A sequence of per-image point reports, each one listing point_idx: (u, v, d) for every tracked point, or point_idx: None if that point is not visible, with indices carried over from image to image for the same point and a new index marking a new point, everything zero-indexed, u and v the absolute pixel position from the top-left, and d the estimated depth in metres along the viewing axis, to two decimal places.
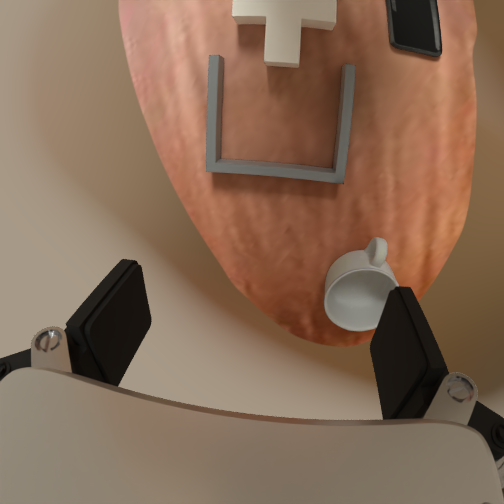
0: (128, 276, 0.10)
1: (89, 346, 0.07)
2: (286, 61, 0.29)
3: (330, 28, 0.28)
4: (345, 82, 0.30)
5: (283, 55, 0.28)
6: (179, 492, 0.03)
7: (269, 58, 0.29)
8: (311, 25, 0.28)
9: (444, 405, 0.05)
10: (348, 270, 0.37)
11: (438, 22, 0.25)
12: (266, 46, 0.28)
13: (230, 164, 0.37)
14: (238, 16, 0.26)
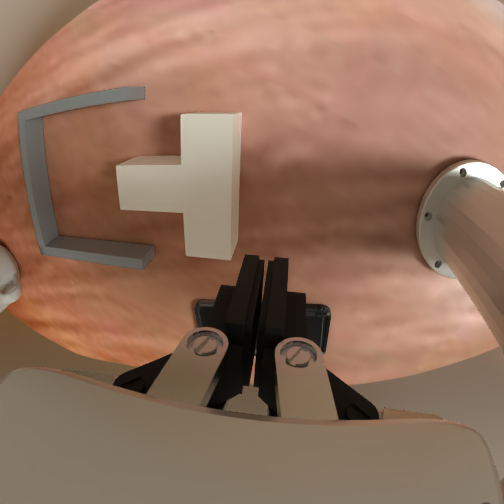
0: (261, 271, 0.10)
1: (244, 344, 0.08)
2: (119, 194, 0.24)
3: None
4: (121, 257, 0.28)
5: (126, 190, 0.24)
6: (179, 492, 0.03)
7: (119, 172, 0.23)
8: None
9: (292, 378, 0.06)
10: None
11: None
12: (135, 167, 0.23)
13: (25, 137, 0.23)
14: None
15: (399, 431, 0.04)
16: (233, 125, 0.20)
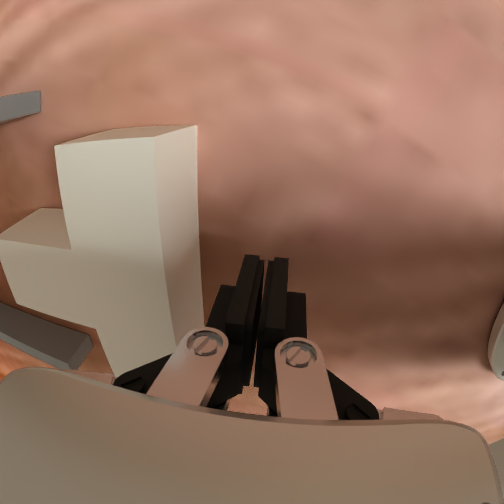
0: (261, 271, 0.10)
1: (244, 344, 0.08)
2: (8, 282, 0.12)
3: None
4: (44, 353, 0.16)
5: (14, 279, 0.12)
6: (179, 492, 0.03)
7: None
8: None
9: (292, 378, 0.06)
10: None
11: None
12: (13, 245, 0.10)
13: None
14: None
15: (399, 431, 0.04)
16: (157, 165, 0.08)
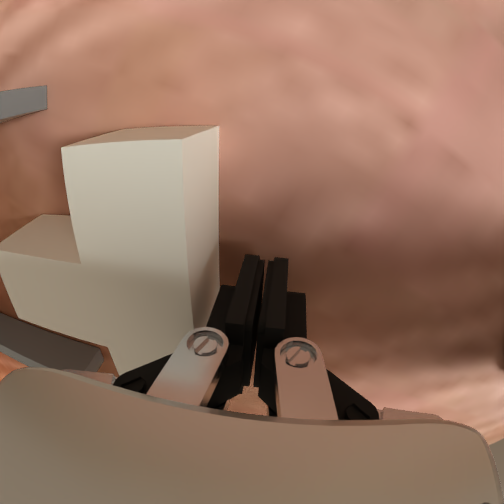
0: (261, 271, 0.10)
1: (244, 344, 0.08)
2: (9, 295, 0.11)
3: None
4: None
5: (16, 292, 0.11)
6: (179, 492, 0.03)
7: None
8: None
9: (292, 378, 0.06)
10: None
11: None
12: (14, 257, 0.10)
13: None
14: None
15: (399, 431, 0.04)
16: (184, 171, 0.07)
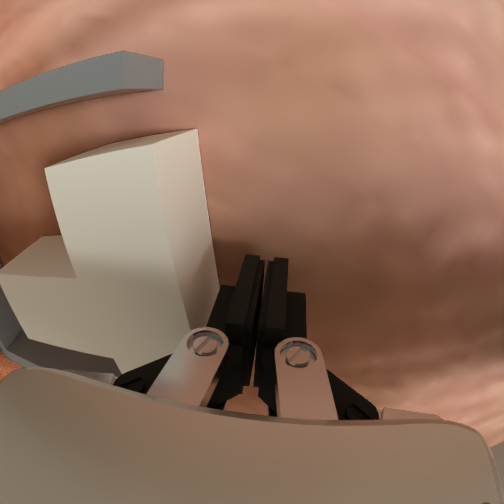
0: (261, 271, 0.10)
1: (244, 344, 0.08)
2: (17, 317, 0.11)
3: None
4: None
5: (22, 313, 0.11)
6: (179, 492, 0.03)
7: (3, 284, 0.10)
8: None
9: (292, 378, 0.06)
10: None
11: None
12: (16, 279, 0.10)
13: None
14: (49, 190, 0.08)
15: (399, 431, 0.04)
16: (159, 175, 0.07)
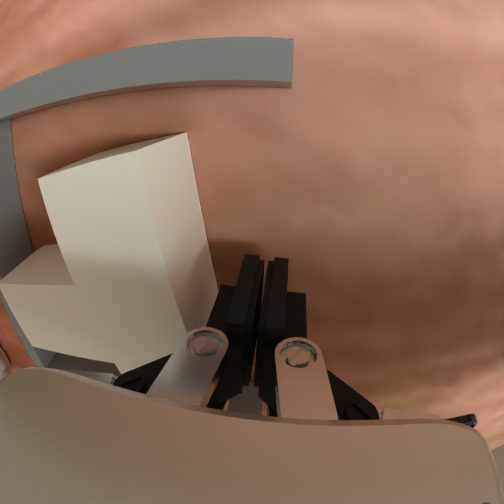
0: (261, 271, 0.10)
1: (244, 344, 0.08)
2: (20, 325, 0.11)
3: None
4: None
5: (25, 321, 0.11)
6: (179, 492, 0.03)
7: (5, 293, 0.11)
8: None
9: (292, 378, 0.06)
10: None
11: None
12: (17, 288, 0.10)
13: None
14: None
15: (399, 431, 0.04)
16: (146, 181, 0.07)
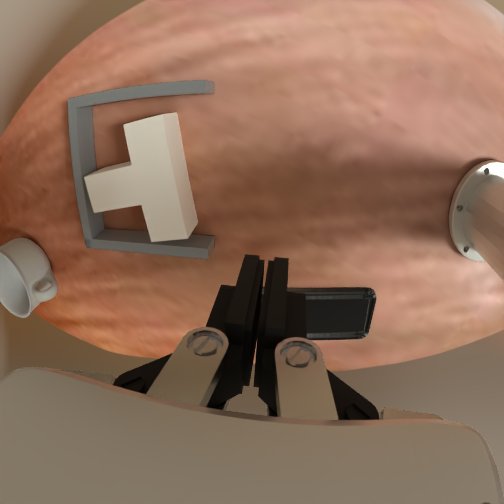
0: (261, 271, 0.10)
1: (244, 344, 0.08)
2: (91, 200, 0.28)
3: None
4: (184, 247, 0.30)
5: (95, 195, 0.27)
6: (179, 492, 0.03)
7: (87, 181, 0.27)
8: None
9: (292, 378, 0.06)
10: (19, 268, 0.30)
11: None
12: (98, 175, 0.26)
13: (76, 125, 0.25)
14: None
15: (399, 431, 0.04)
16: (164, 123, 0.24)
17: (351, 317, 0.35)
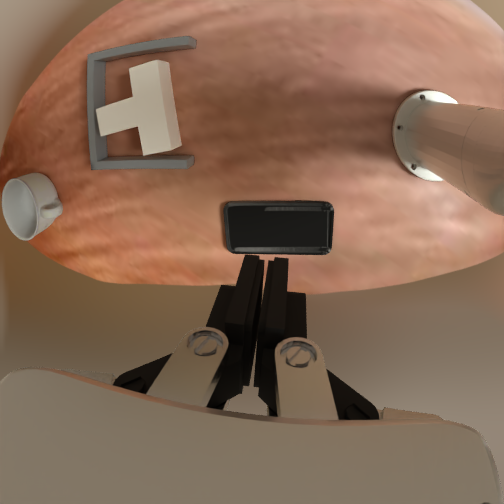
0: (261, 271, 0.10)
1: (244, 344, 0.08)
2: (99, 126, 0.34)
3: None
4: (169, 160, 0.36)
5: (103, 122, 0.33)
6: (179, 492, 0.03)
7: (98, 112, 0.33)
8: None
9: (292, 378, 0.06)
10: (32, 191, 0.36)
11: (265, 253, 0.44)
12: (107, 106, 0.32)
13: (93, 73, 0.31)
14: None
15: (399, 431, 0.04)
16: (158, 66, 0.30)
17: (313, 230, 0.41)
